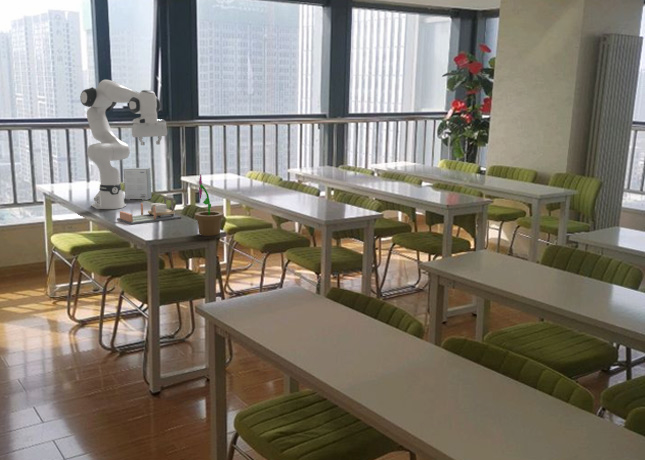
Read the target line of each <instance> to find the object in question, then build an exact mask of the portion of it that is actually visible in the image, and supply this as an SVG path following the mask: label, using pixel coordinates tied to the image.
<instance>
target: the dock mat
mask: <svg viewBox="0 0 645 460" xmlns="http://www.w3.org/2000/svg"><path fill="white" fill-rule="evenodd" d="M147 217H151V216H147ZM179 218H180V219H181V218H182V216H180V215H177V214H175V216H168V217H160V218H156V220H154V219H152V220H144V221H136V222H128V221H125V220H122V219H120V217H117V218H116V220H117V221H119V222H122V223H125V224H128V225H132V226H133V225H140V224H147V223H154V222H163V221H171V220H177V219H179Z"/></svg>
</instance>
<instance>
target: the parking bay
mask: <svg viewBox="0 0 645 460" xmlns="http://www.w3.org/2000/svg"><path fill="white" fill-rule="evenodd" d="M153 209H154V218H150V219H142V220H134V221H133V219H135V218H133V216H134V215H133V213H131V212H129V213H128V212H126V211H123V210H122V211H119V218H120V219H122V220H125V221H128V222H136V221H144V220H152V219H154V220H156V207H153ZM140 215H144V203H143V202H140ZM145 217H147V216H145ZM137 218H143V217H137Z"/></svg>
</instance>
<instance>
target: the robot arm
mask: <svg viewBox="0 0 645 460" xmlns="http://www.w3.org/2000/svg"><path fill="white" fill-rule="evenodd" d="M79 97H80V99H79V100H80V102H81V104H82V105H83V106H84V107H88V109H87V110H86V117H87V123H88V126H89V128H90V129H89V130H90V131H91V134H92V138H94V139H95V140H96V141H99V142H96V143H92V144H90V145H88V148H87V150H86V155H87V157H88V159H89V160H90V161H92V162H93V164H95V166H97V169H98V171H99V176H100V177H99V178H100V184H99V191H98V192H97V194H96V195H95V196H94V197H93V201H94V202H93V203H91V204H90V205H91V207H92V208H94V209H96V210H117V209H123V208H124V207H126V206H127V204H126V203H125V196H124V193H123V191H122V185H121V178H120V176H121V175H120V171H119V169H118V168H116V167H114V166H113V165H112V163H111V162H112V161H113V162H114V161H115V162H116V161H123V160H126V159H128V158H129V156H130V153H131V149H130V146H129V145H128V144H127V142H124V141H122V140H121V139H119V138H118V137H117V136H116V135H115V133H114V132H113V130H112V128H111V126H110V124H109V121H108V118H107V115H106V112H110V111H111V110H112V109H114V107H115V106H116V105H117V103H118V104H125V103H128V108H129V110H130V112H131V113H133V114H138V115H139V114H140V116H139V117H137V118H134V119H132V123H133V124H132V126H131V135H132V137H133V138H138V140H139V142H140V145H141V146H145V144H146V143H145V142H144V141H143V139H144V138H151V137H157V141H155V144H156V145H161V140H162V137H166V136H167V135H168V127H167V121H166V120H165V119H158V113H159V111H160V110H161V108H162V103H161V101H160V99H159V98H158V97H157V96H156V93H155V92H154V91H153V90H148V89H143V90H140V92H139V91H136V90H134V89H131V88H128V87H126V86H125V85H122V84H120V83H118V82H116V81H113V80H110V79H103V80H101V81H100V82H99V83H98V86H97V87H96V88H95V87H89V88H86V89H83V90H82V91H81V93H80V96H79Z"/></svg>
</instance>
